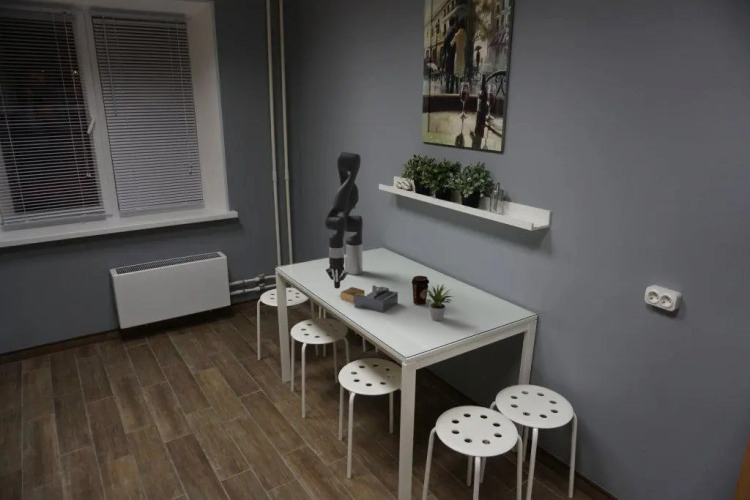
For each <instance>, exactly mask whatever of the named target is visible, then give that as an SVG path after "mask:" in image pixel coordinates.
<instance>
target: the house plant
mask: <svg viewBox="0 0 750 500" xmlns="http://www.w3.org/2000/svg"><path fill="white" fill-rule="evenodd" d="M439 285H440V284H438V283H437V287H436V288H435V287H434V286H433V285H432V288H431V287H430V289H431V290H432V291H433V292H432V291H431V290H430V289H429V288H428V290H427V289H426V290H427V293H428V296H429V297H430V298H431V299H432V300H431V299H429V298H426V303H430V304H429V310H430V311H429V312H430V316H431V320H432V321H434V322H441V321H443V319H444V315H445V310H446V305H445V303H446V304H447V303H448V304H451V302H453V300H452V299H450V298H453V296H452V295H450V293H448V292H450V291H452V290H453V289H448V290H447V291H445V292H444V293H443V291H444V290H445V289H446V288H447V286H446V287H445V284H442V285H441V286H439ZM424 291H425V290H424ZM433 293H434V295H433ZM442 293H443V294H442Z"/></svg>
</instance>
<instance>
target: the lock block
mask: <svg viewBox="0 0 750 500" xmlns="http://www.w3.org/2000/svg"><path fill="white" fill-rule="evenodd" d="M365 291H366V290H365V289H361V288H357V287H354V286H351V287H349V288H346V289H345V290H342V291H340V300H344V301H345V302H350V303H353V304H354V296H355V295H362V296H366V295H365V294H366V293H365Z"/></svg>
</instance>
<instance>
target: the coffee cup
mask: <svg viewBox="0 0 750 500" xmlns="http://www.w3.org/2000/svg"><path fill="white" fill-rule="evenodd" d="M411 284H412V303H413V304H414V305H416V306H423V305H426V304H427V301H426V299H428V292H427V290H428V289H429V284H430V280H429V279H428V276H425V275H416V276H413V277H412V279H411ZM426 289H427V290H426ZM424 290H425V291H424ZM428 291H429V290H428Z"/></svg>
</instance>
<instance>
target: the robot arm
mask: <svg viewBox="0 0 750 500" xmlns="http://www.w3.org/2000/svg"><path fill="white" fill-rule="evenodd" d="M336 159H337V160H336V162H337V163H336V165H337V171H338V175H339V176H338V177H339V184H340V185H339V188H338V189H337V190H336V191H335V194H334V197H333V198H334V199H333V202H332V206H331V208H330V210H329V211H328V213H327V216H326V217H325V219H324V220H325V221H324V225H325V227H326V229H327V230H331V231H336V232H335V233H333V234H330V235H329V237H328V245H329V246H328V248H329V249H328V263H329V264H328V265H329V267H328V268H326V269H325V271H326V274H327V275H328V277H329V278H330V279H331V280H332V281H333V287H334V289H336V290H338V289H340V288H341V282H342V281H344V280H345V279H346V277H347V276H348V275H353V276H354V275H360V274H362V273H363V226H364V225H363V223H364V222H363V218H362V216H361V215H351V214H350V213H351V212H352V210H353V209H354V208H355V206H356V205H357V204H358V202H359V200H360V199H359V189H358V186H357V184H356V183H355V181H356V178H357V177H358V173H359V171H360V167H361V159H362V158H361V155H360V154H358V153H354V152H347V151H340V152H339V153H338V155H337V158H336ZM348 172H349V173H348ZM339 214H342V216H339ZM345 232H347V233H355V234H354V235H351V236H349V237H347V238H346V239H345V248H344V238H345ZM345 252H346V253H345Z"/></svg>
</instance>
